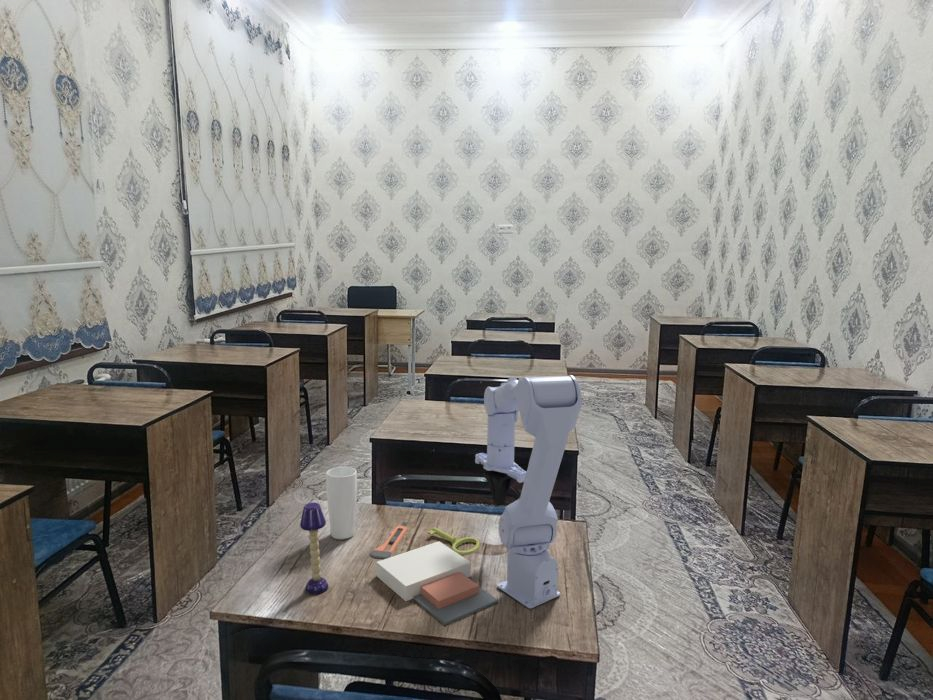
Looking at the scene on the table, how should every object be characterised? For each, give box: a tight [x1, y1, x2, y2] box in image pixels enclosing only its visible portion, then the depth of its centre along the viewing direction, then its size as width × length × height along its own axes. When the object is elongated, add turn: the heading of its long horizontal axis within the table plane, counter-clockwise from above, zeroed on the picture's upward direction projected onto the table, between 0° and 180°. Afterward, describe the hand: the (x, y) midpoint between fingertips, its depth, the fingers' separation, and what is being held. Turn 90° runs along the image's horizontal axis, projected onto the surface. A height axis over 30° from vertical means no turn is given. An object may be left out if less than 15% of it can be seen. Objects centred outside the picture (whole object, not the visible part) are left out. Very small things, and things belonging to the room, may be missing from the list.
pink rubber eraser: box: [421, 572, 480, 609], centre depth 116 cm, size 6×9×2 cm, turn 126°
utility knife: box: [369, 521, 409, 560], centre depth 139 cm, size 4×1×18 cm
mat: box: [412, 586, 499, 626], centre depth 115 cm, size 10×12×1 cm
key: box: [427, 526, 481, 556], centre depth 136 cm, size 7×12×2 cm, turn 69°
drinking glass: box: [325, 466, 358, 540], centre depth 139 cm, size 7×7×15 cm
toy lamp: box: [299, 502, 329, 595], centre depth 117 cm, size 5×5×17 cm
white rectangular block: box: [375, 541, 472, 602], centre depth 123 cm, size 11×15×3 cm
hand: (499, 503), depth 133 cm, fingers closed
